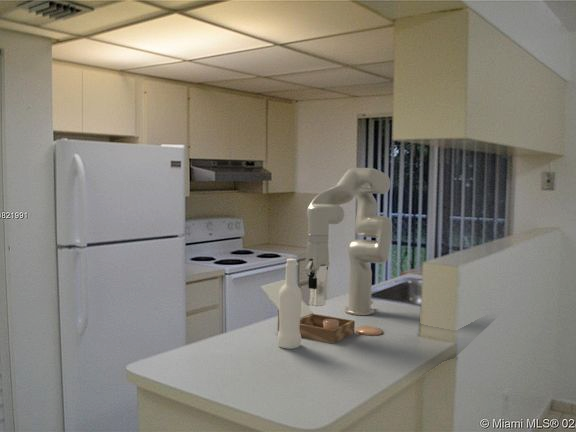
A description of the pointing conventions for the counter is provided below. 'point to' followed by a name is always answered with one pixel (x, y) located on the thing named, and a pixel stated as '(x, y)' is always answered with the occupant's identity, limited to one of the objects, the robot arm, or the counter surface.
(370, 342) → the counter surface
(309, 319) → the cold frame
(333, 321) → the peach rounded cylinder
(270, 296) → the propped lid
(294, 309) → the bottle
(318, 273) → the beer glass
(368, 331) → the orange dish
